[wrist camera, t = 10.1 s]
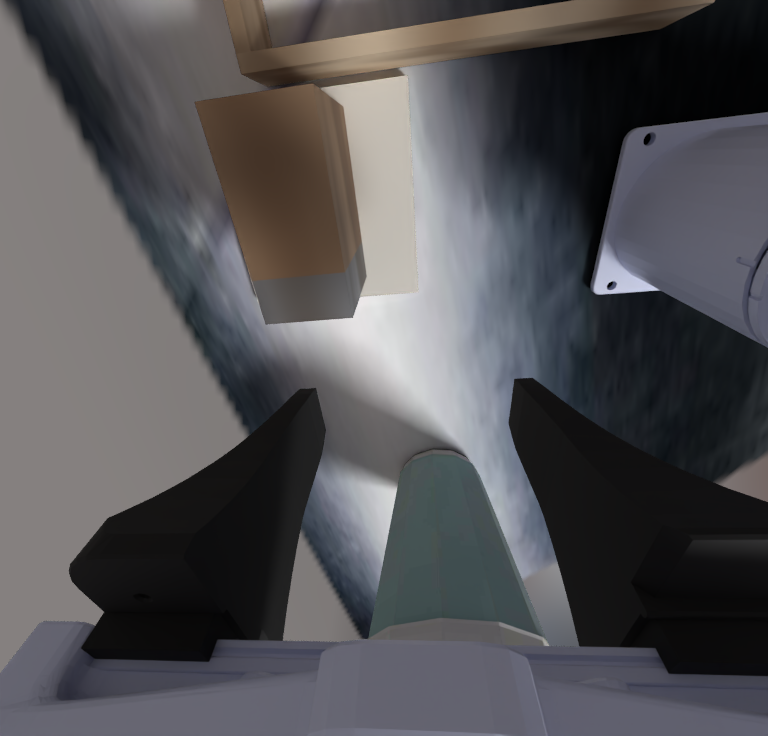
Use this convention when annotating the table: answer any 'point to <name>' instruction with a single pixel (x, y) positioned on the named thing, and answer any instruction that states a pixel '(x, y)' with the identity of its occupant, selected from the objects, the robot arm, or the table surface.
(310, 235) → the block
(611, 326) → the table surface
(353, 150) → the pad
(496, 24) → the frame
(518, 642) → the disposable coffee cup
